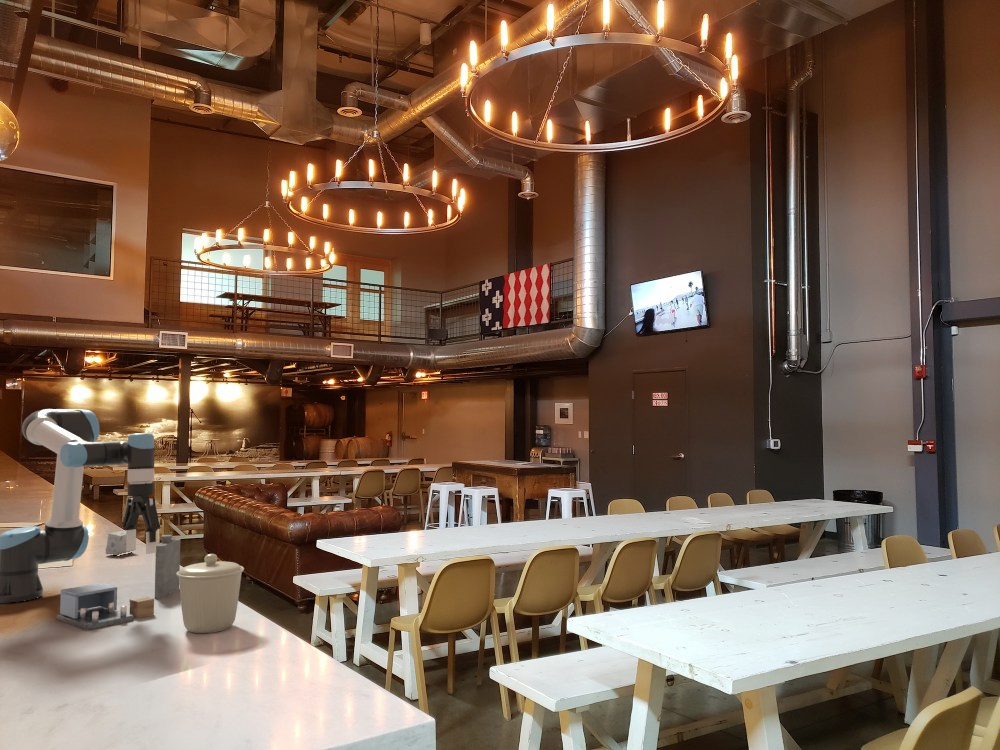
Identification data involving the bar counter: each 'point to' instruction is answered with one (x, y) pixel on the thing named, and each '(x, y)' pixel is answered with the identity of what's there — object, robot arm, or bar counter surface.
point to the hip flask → (167, 566)
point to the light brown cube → (142, 607)
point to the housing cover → (87, 598)
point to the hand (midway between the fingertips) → (140, 552)
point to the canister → (209, 594)
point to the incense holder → (116, 543)
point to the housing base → (101, 620)
